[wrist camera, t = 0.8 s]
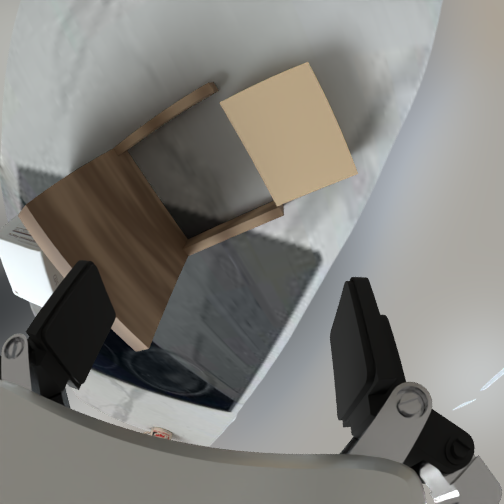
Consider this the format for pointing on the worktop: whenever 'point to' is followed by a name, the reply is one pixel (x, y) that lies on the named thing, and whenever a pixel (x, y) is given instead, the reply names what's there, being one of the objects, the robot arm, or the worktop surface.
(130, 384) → the worktop surface
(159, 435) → the teacup with lid
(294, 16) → the worktop surface
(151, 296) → the display stand
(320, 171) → the carton
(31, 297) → the supplement box
